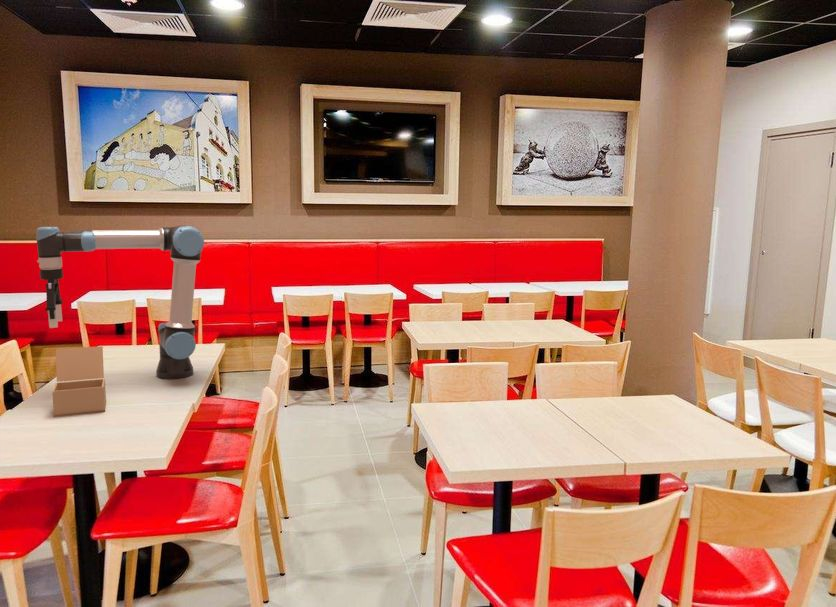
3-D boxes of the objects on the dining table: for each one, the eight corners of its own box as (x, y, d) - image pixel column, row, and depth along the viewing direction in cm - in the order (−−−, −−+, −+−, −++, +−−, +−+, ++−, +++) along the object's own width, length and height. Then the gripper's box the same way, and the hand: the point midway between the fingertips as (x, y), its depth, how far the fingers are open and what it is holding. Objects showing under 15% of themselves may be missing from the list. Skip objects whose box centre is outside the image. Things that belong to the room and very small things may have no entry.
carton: (106, 402, 247) (104, 378, 246) (105, 411, 237) (103, 387, 235) (57, 406, 241) (55, 382, 240) (54, 416, 230) (52, 391, 229)
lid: (103, 377, 246) (103, 377, 247) (102, 346, 248) (102, 346, 249) (56, 381, 240) (56, 381, 241) (55, 349, 242) (55, 349, 243)
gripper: (44, 265, 259) (49, 319, 262) (34, 272, 236) (39, 331, 239) (66, 265, 262) (70, 318, 265) (57, 271, 239) (63, 329, 242)
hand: (56, 324), depth 252 cm, fingers open, 13 cm apart
